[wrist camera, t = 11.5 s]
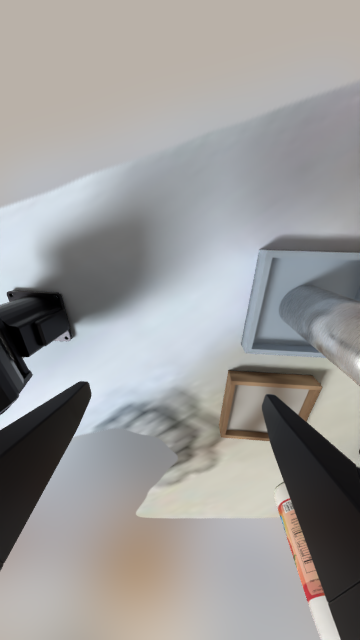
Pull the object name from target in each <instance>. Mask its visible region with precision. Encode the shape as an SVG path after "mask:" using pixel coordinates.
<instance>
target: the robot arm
mask: <svg viewBox="0 0 360 640" xmlns="http://www.w3.org/2000/svg"><path fill="white" fill-rule="evenodd" d="M7 296H8V299H9V302H8V303H5V304H2V305H0V415H1V414H2V413H4V412H5V411H6V410H7V409H8V408H9V407H10V406H11V405H12V404H13V403H14V402H15V401H16V400H17V398H18V397H19V393H20V392H21V391H22V389H23V388H24V387H25V385H26V384H27V382H28V381H29V380H30V378H31V377H32V375H33V374H32V373H31V371H30V370H29V369H28V368H27V366H26V364H25V362H24V360H23V358H24V357H29V356H31V355H32V354H34V353H35V352H37V351H38V350H39V349H41V348H42V347H44V346H47V345H48V344H50V343H51V342H52V341H70V340H71V339H72V334H71V330H70V326H69V323H68V319H67V315H66V311H65V307H64V303H63V299H62V296H61V294H59V293H57V292H34V291H9V292H7ZM56 296H57V297H58V298H56ZM67 337H68V338H67ZM90 399H91V390H90V385H89V383H88V382H84V381H80V382H78V383H76V384H75V385H73V386H71V387H70V388H68V389H66V390H65V391H63V392H62V393H60V394H58V395H57V396H55V397H54V398H52V399H50V400H49V401H47V402H45V403H44V404H42V405H41V406H39V407H37V408H36V409H34V410H32V411H31V412H29V413H28V414H26V415H24V416H23V417H21V418H19V419H18V420H16V421H15V422H13V423H11V424H10V425H8V426H6V427H5V428H3V429H2V430H0V570H1V569H2V567H3V563H4V562H5V561H6V559H7V557H8V555H9V554H10V552H11V550H12V548H13V546H14V544H15V542H16V541H17V539H18V537H19V535H20V533H21V532H22V529H23V528H24V526H25V524H26V522H27V520H28V519H29V517H30V515H31V513H32V511H33V509H34V508H35V506H36V504H37V502H38V500H39V498H40V497H41V495H42V493H43V491H44V489H45V487H46V485H47V484H48V482H49V480H50V478H51V476H52V475H53V473H54V471H55V469H56V467H57V465H58V464H59V462H60V460H61V458H62V456H63V454H64V453H65V451H66V449H67V447H68V445H69V443H70V441H71V440H72V438H73V436H74V434H75V432H76V430H77V428H78V426H79V424H80V422H81V420H82V417H83V415H84V413H85V410H86V408H87V406H88V403H89V401H90ZM262 412H263V416H264V420H265V424H266V428H267V432H268V436H269V440H270V443H271V446H272V449H273V452H274V455H275V458H276V461H277V463H278V466H279V469H280V472H281V475H282V477H283V480H284V483H285V486H286V488H287V491H288V494H289V497H290V500H291V502H292V505H293V508H294V511H295V513H296V516H297V519H298V522H299V525H300V527H301V530H302V533H303V536H304V539H305V541H306V544H307V547H308V550H309V552H310V555H311V558H312V561H313V564H314V566H315V569H316V572H317V575H318V578H319V580H320V583H321V586H322V589H323V591H324V594H325V597H326V600H327V602H328V606H329V609H330V611H331V614H332V617H333V620H334V623H335V625H336V628H337V631H338V634H339V636H340V639H341V640H360V468H359V467H356V465H355V464H354V463H353V462H352V461H351V460H350V459H349V458H347V457H346V456H345V455H344V454H343V453H342V452H340V451H339V450H338V449H337V448H336V447H335V446H334V445H332V444H331V443H330V442H329V441H328V440H327V439H325V438H324V437H323V436H322V435H321V434H320V433H319V432H317V431H316V430H315V429H314V428H313V427H312V426H311V425H309V424H308V423H307V422H306V421H305V420H304V419H302V418H301V417H300V416H299V415H298V414H297V413H296V412H294V411H293V410H292V409H291V408H290V407H289V406H287V405H286V404H285V403H284V402H283V401H282V400H281V399H279V398H278V397H277V396H276V395H274V394H266V395H265V397H264V400H263V403H262Z"/></svg>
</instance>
